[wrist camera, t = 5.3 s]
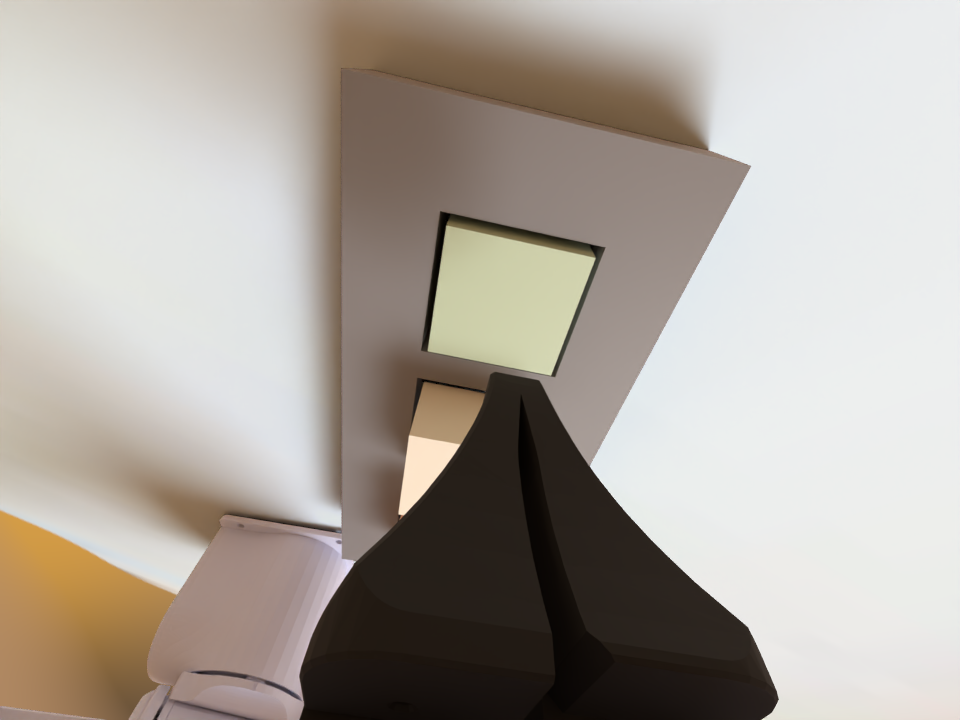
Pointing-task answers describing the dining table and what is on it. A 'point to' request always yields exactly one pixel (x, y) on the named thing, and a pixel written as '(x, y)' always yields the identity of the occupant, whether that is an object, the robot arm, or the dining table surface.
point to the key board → (512, 202)
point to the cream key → (436, 436)
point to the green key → (506, 294)
